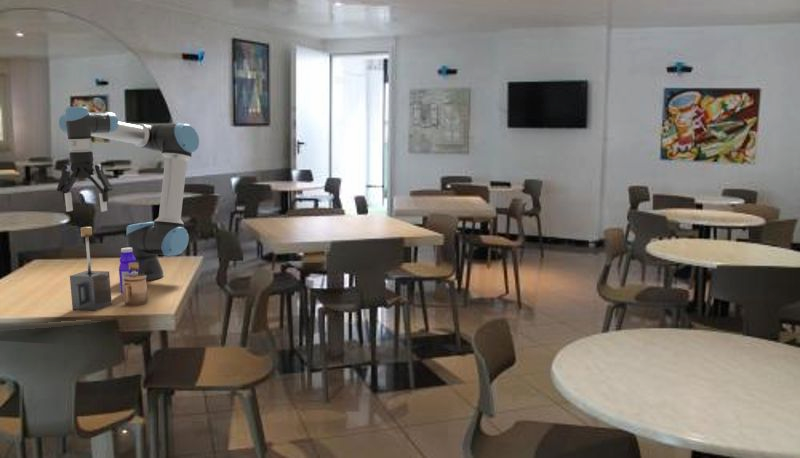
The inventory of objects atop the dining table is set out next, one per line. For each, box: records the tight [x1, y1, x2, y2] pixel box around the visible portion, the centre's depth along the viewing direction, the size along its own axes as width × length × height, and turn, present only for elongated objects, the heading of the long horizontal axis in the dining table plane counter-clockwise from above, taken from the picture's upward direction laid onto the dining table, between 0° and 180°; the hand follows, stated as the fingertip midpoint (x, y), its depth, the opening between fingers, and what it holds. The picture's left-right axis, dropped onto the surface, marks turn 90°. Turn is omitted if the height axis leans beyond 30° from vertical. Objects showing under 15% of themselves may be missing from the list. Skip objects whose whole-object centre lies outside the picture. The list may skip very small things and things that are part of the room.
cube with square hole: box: [69, 270, 113, 312], centre depth 244 cm, size 12×9×12 cm
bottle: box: [118, 247, 138, 295], centre depth 266 cm, size 7×6×17 cm
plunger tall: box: [80, 226, 93, 274], centre depth 244 cm, size 7×7×19 cm
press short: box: [122, 262, 148, 307], centre depth 250 cm, size 11×8×15 cm
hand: (86, 211), depth 251 cm, fingers open, 13 cm apart
